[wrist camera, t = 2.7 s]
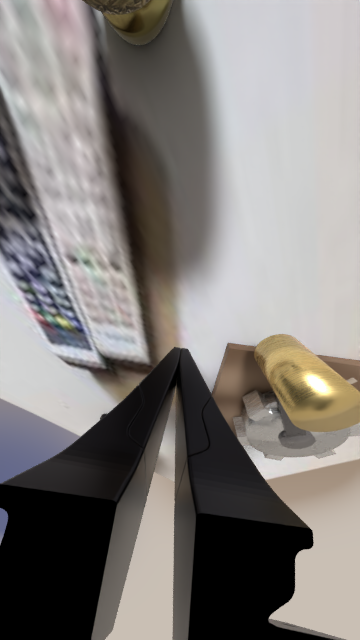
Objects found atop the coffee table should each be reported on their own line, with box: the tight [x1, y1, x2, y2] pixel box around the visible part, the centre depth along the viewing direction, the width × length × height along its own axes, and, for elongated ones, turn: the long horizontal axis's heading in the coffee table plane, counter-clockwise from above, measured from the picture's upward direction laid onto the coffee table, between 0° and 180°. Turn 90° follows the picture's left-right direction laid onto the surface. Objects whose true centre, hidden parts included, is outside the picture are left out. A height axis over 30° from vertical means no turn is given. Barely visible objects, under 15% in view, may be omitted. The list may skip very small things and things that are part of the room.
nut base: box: [212, 343, 360, 439], centre depth 16 cm, size 16×16×1 cm
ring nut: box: [233, 334, 360, 460], centre depth 11 cm, size 18×11×6 cm, turn 24°
